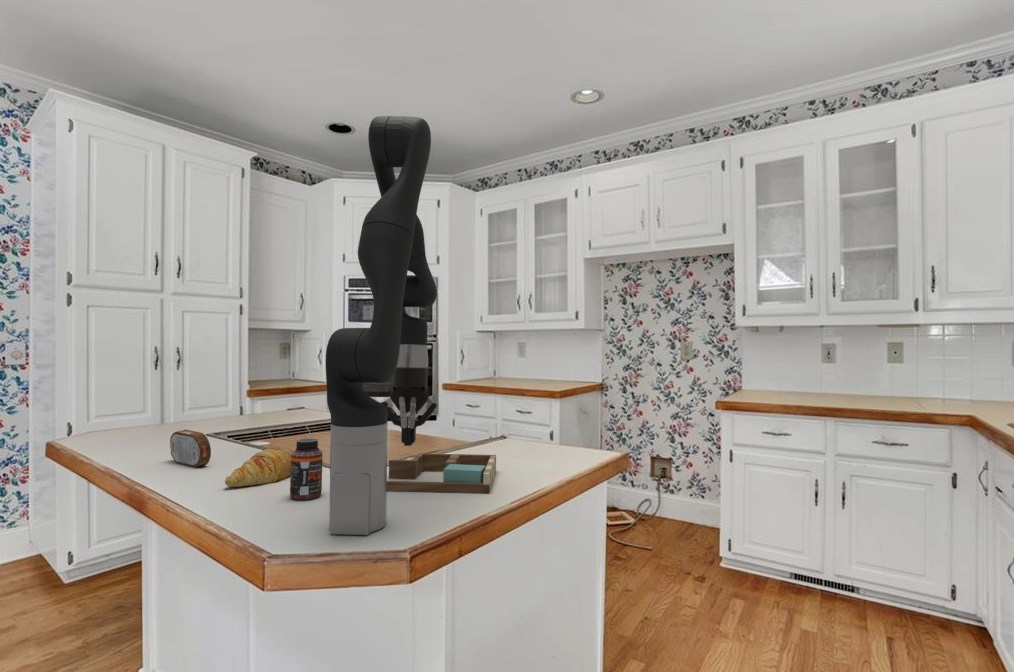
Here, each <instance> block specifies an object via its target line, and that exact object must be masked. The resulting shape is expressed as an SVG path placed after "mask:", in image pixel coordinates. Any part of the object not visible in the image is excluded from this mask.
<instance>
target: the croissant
mask: <svg viewBox="0 0 1014 672" xmlns="http://www.w3.org/2000/svg"><path fill="white" fill-rule="evenodd" d="M291 454H292V453H291ZM291 454H290V453H287V452H286V451H284V450H283V449H280V448H266V449H263V450H261V451H259V452H257V453H255V454H254V455H252V456H251V457H250V458H249V459H248V460H245V462H243V463H242V465H241V467H238V468H235V469H234V470H233V472H232V473H231V475H229V476H226V477H225V480H224V483H225V485H226V486H227V487H231V488H233V487H234V488H235V487H237V488H239V487H246V486H257V485H258V486H259V485H265V483H267V484H271V482H272V483H276V482H277V480H278V481H281V479H282V480H284V479H286V478H288V477H289V476H291Z"/></svg>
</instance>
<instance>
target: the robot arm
mask: <svg viewBox="0 0 1014 672" xmlns="http://www.w3.org/2000/svg"><path fill="white" fill-rule="evenodd" d="M367 138H368V149H369V153H370V155H369V156H370V157H371V163H372V167H373V171H374V174H375V177H376V182H377V187H378V191H379V193H380V198H379V199H378V200H377V201H376V202H375V204H374V205H372V207H371V208H370V210H369V211H368V212H367V213H366V214H365V217H364V219H363V222H362V225H361V232H360V235H359V241H358V246H357V259H358V263H359V267H360V269H361V271H362V274H363V276H364V278H365V279H366V282H367V285H368V286H369V288H370V291H371V295H372V299H373V300H372V301H373V311H372V312H373V314H372V320H371V324H370V327H343V328H338V329H336V330H335V331H334V332H333V333H332V334H331V335H330V338H329V339H328V341H327V343H326V344H327V346H326V349H325V350H326V351H325V383H326V403H327V409H328V410H329V411H328V412H329V414H330V445H329V446H330V449H329V450H330V451H329V454H330V455H329V458H330V459H329V460H330V461H329V464H330V465H329V516H328V517H329V522H328V524H329V526H328V528H329V534H330V535H346V536H347V535H350V536H351V535H352V536H354V535H355V536H356V535H357V536H359V535H360V536H368V535H369V534H370V533H373V532H376V531H379V530H380V529H382V528H384V527H385V526H386V525H387V495H388V494H387V492H388V491H387V481H388V474H387V473H388V419H389V420H390V421H391V423H392V424H393V425H394V426H397V427H400V428H401V434H400V435H401V439H400V440H401V441H400V442H401V443H402V444H403V446H405V447H410V446H411V447H412V445H413V444H414V443H415V442H416V440H417V439H416V436H417V427H421V426H423V425H424V424H426V422H427V421H428V419H429V418H430V417H431V416H432V415H433V413H434V412H435V411H436V410H437V409H438V407H439V403H438V402H437V401H434V400H433V399H432V398H431V397H430V393H429V391H428V374H429V373H428V370H429V354H428V353H429V352H428V327H429V326H428V322H427V320H425V319H424V318H419V317H415V316H411V315H409V313H407V311H406V310H407V309H406V308H430V307H432V306H433V305H434V304H435V302H436V300H437V296H438V289H437V285H436V282H435V280H434V279H435V278H434V277H433V275H432V272H431V270H430V266H429V263H428V260H427V255H426V245H425V244H426V243H425V242H426V241H425V235H424V228H423V225H422V221H421V219H420V218H419V216H418V205H419V201H420V196H421V191H422V188H423V183H424V180H425V175H426V172H427V167H428V163H429V159H430V154H431V153H430V152H431V147H432V145H431V144H432V134H431V128H430V125H429V123H428V122H427V121H426V119H424V118H422V117H418V116H406V115H403V116H402V115H401V116H400V115H399V116H398V115H395V116H394V115H379V116H375V117H373V119H372V120H371V122H370V124H369V127H368V136H367ZM394 168H400V172H399V174H398V177H396V174H395V169H394ZM408 272H411V273H413V275H410V274H409V275H408ZM391 379H392V389H391V392H390V394H389V397H388V398H387V399H386V400H384V401H378V400H376V399H374V398H372V397H371V396H370V395H369V394H367V392H366V390H365V389H364V384H365V383H367V384H368V383H370V384H381V383H382V384H384V383H387V382H388V381H389V380H391ZM425 404H426V405H425ZM394 406H395V407H396V408H397V410H398V411H399V415H398V413H397V412H396V411H395V410H394ZM424 406H425V408H426V410H425V412H424V413H423V414H422V415H421V417H419V411H421V410H422V409H423V408H424ZM418 418H419V419H418Z"/></svg>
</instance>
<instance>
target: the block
mask: <svg viewBox="0 0 1014 672" xmlns="http://www.w3.org/2000/svg"><path fill="white" fill-rule="evenodd" d="M485 469H486V466H482V465H460V464H449V465H448V466H447V467H446V468H444V472H443V478H442V479H443V481H442V482H458V483H483V474H484V471H485Z"/></svg>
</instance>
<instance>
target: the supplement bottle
mask: <svg viewBox="0 0 1014 672" xmlns="http://www.w3.org/2000/svg"><path fill="white" fill-rule="evenodd" d="M318 446H319V441H318V439H317V438H301V439H297V440H296V448H295V450H294V451H292V452H291V474H290V475H289V476H290V478H289V479H290V481H289V482H290V483H289V487H290V488H289V497H290V498H291V499H293V500H297V501H304V500H305V501H306V500H308V501H309V500H313V499H317V498H318V497H320V496H321V495H322V490H323V489H322V488H323V451H322V450H321V449H320V448H319V447H318Z"/></svg>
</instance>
